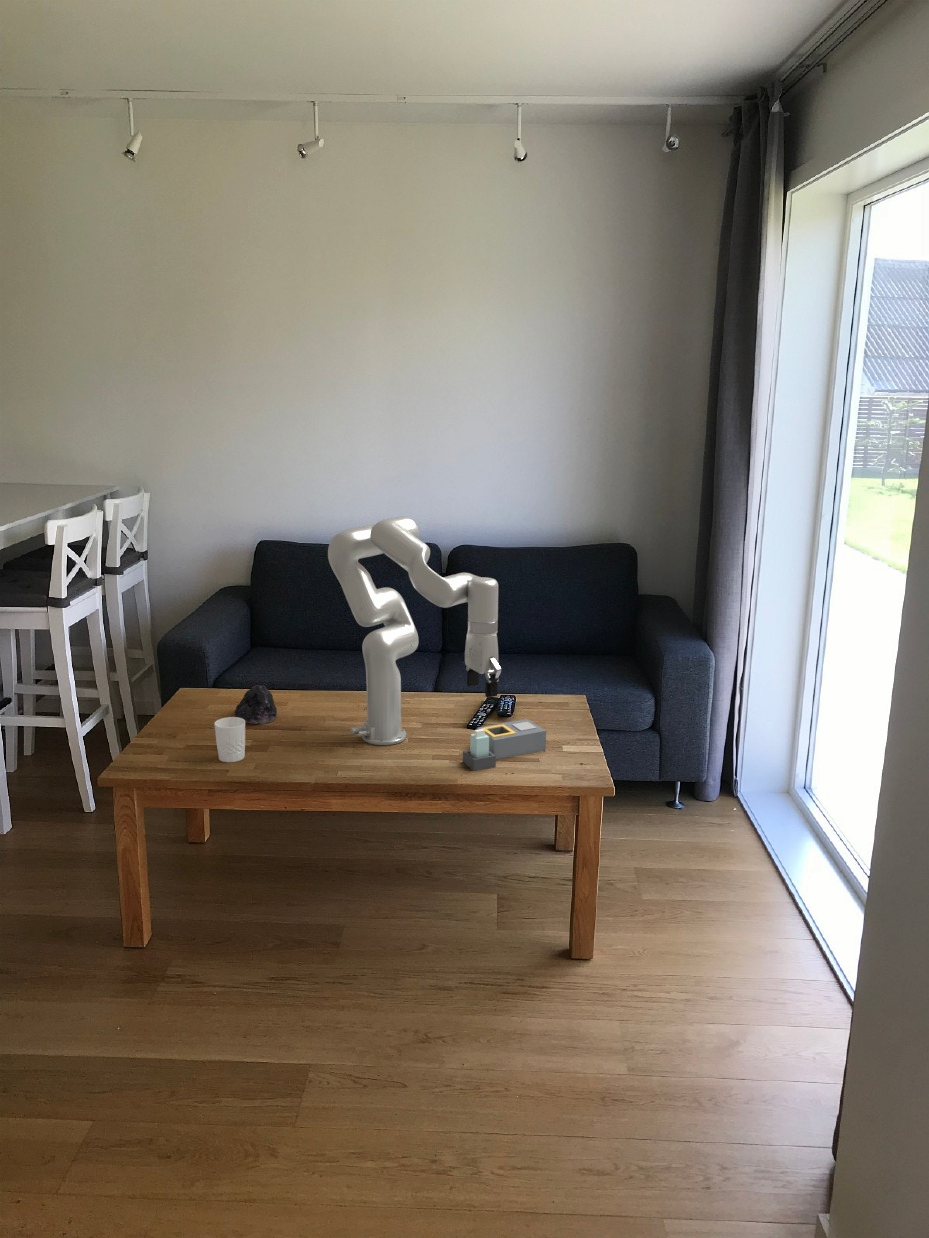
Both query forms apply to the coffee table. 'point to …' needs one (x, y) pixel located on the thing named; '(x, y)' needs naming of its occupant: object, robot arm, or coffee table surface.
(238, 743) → the white cup
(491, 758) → the holster
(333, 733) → the coffee table surface
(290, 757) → the coffee table surface
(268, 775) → the coffee table surface
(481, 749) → the plug
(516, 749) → the port panel
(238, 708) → the crystal cluster
